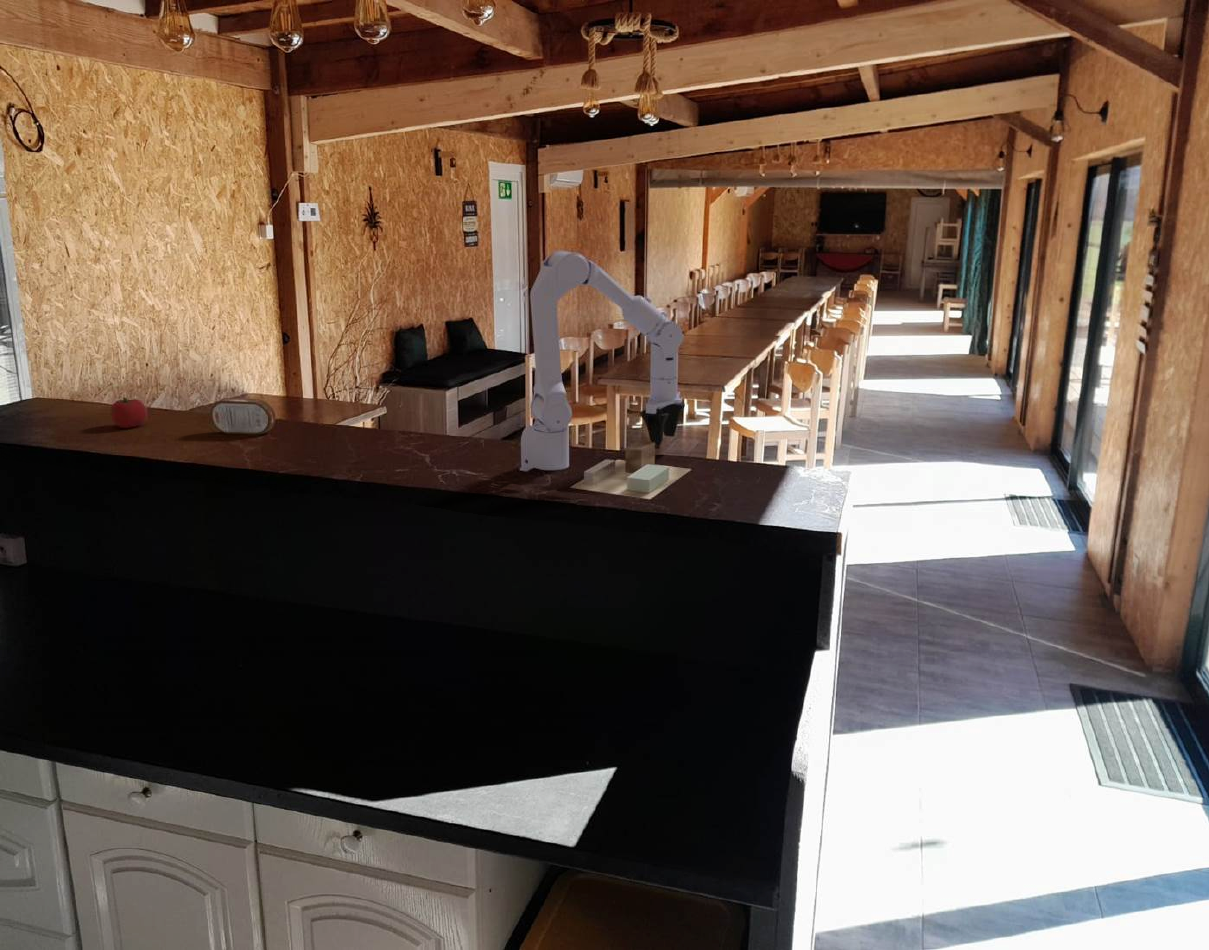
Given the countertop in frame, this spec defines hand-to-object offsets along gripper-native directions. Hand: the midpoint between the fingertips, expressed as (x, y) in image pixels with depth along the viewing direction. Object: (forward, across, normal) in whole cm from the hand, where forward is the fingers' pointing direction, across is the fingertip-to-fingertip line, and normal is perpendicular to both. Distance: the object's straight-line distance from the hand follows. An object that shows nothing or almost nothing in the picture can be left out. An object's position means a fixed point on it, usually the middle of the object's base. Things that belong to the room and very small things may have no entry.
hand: (662, 440), depth 201 cm
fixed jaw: (+4, -22, +5) cm, 22 cm away
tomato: (+4, -30, +128) cm, 131 cm away
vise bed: (+4, -19, -1) cm, 19 cm away
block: (+3, -12, 0) cm, 13 cm away
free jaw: (+3, -22, -6) cm, 23 cm away
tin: (+4, -23, +98) cm, 100 cm away
